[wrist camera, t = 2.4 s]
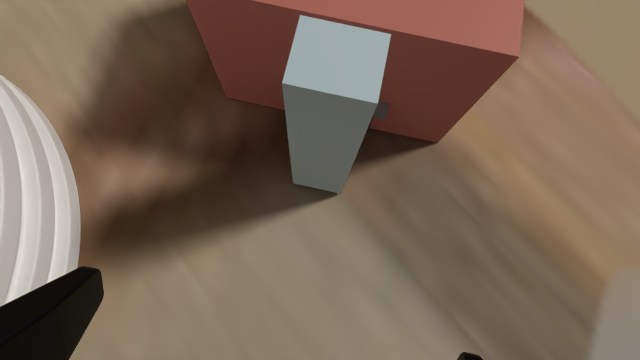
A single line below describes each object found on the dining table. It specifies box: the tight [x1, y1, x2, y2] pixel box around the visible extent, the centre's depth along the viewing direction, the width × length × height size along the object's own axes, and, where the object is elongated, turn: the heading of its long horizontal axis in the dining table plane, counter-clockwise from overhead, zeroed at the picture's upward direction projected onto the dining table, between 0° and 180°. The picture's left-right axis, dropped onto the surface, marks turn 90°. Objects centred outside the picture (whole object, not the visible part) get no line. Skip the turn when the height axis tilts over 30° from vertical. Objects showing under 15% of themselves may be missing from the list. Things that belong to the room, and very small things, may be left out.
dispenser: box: [186, 0, 525, 143], centre depth 22 cm, size 10×14×10 cm
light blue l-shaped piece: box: [282, 15, 391, 194], centre depth 20 cm, size 13×3×12 cm, turn 168°
